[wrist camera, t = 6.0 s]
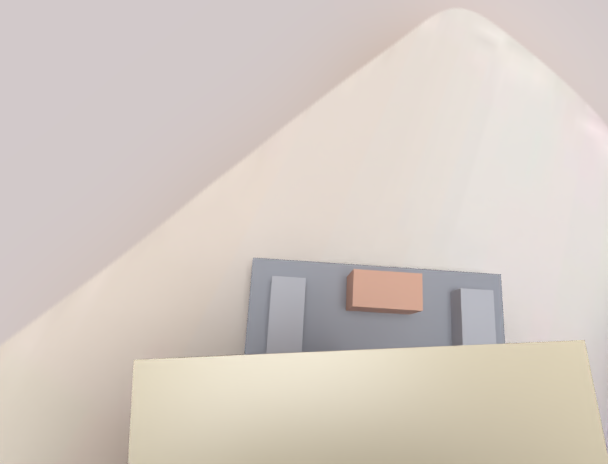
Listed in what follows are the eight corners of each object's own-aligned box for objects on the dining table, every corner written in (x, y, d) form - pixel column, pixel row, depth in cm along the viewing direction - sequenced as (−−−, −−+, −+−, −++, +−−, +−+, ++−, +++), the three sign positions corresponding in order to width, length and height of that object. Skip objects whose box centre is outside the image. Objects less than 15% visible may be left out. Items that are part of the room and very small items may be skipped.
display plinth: (495, 541, 20) (546, 585, 16) (231, 529, 20) (220, 573, 16) (482, 280, 23) (522, 266, 19) (255, 265, 23) (250, 248, 19)
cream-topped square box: (386, 484, 15) (689, 857, 4) (235, 494, 14) (101, 930, 4) (375, 348, 16) (584, 340, 5) (235, 354, 16) (134, 360, 5)
